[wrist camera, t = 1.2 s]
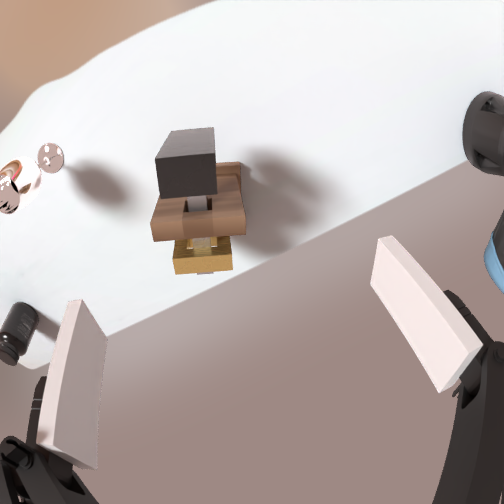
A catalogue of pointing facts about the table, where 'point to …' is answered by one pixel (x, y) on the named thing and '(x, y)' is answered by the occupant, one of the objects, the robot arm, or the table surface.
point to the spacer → (202, 256)
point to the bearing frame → (203, 222)
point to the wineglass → (26, 177)
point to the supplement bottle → (17, 332)
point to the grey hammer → (188, 171)
